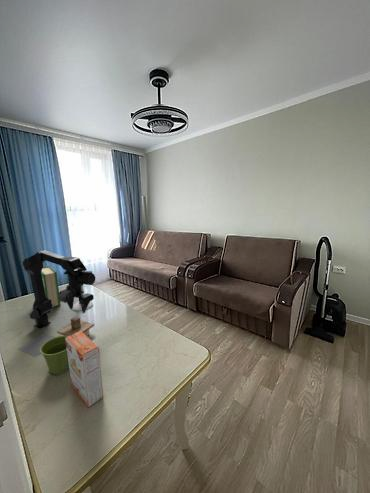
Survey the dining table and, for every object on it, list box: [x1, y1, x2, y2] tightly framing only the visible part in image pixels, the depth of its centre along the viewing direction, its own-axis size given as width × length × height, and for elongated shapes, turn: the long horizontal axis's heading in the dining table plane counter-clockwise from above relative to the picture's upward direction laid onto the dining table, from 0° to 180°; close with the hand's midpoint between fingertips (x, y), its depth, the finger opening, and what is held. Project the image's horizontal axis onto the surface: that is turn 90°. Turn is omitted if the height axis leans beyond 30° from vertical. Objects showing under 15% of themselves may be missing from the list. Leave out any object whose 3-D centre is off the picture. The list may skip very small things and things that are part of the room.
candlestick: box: [71, 268, 94, 312], centre depth 136 cm, size 13×13×30 cm
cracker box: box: [65, 331, 104, 409], centre depth 74 cm, size 14×6×21 cm, turn 49°
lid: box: [56, 316, 95, 336], centre depth 106 cm, size 12×12×6 cm
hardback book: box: [41, 265, 61, 308], centre depth 141 cm, size 18×7×24 cm, turn 45°
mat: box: [17, 333, 56, 357], centre depth 101 cm, size 13×13×1 cm
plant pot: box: [40, 335, 69, 375], centre depth 86 cm, size 12×12×11 cm
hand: (77, 310), depth 109 cm, fingers open, 9 cm apart
